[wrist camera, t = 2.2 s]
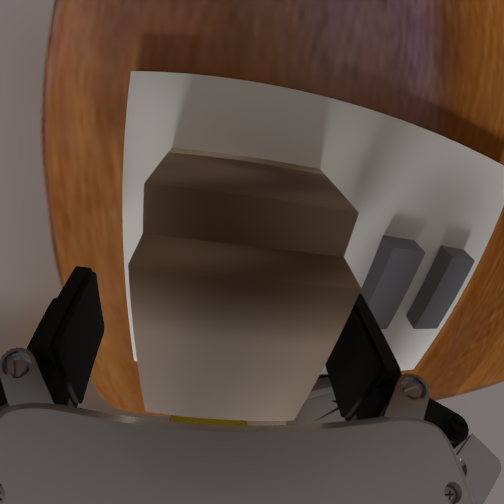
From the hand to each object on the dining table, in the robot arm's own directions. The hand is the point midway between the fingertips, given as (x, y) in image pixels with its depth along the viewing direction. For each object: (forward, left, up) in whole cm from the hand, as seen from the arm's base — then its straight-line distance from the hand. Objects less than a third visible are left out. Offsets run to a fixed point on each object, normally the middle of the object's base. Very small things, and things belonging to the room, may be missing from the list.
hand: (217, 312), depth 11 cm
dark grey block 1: (-6, -6, -4) cm, 9 cm away
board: (-4, -4, -5) cm, 7 cm away
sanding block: (0, 0, -4) cm, 4 cm away
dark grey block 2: (-9, -9, -4) cm, 13 cm away
